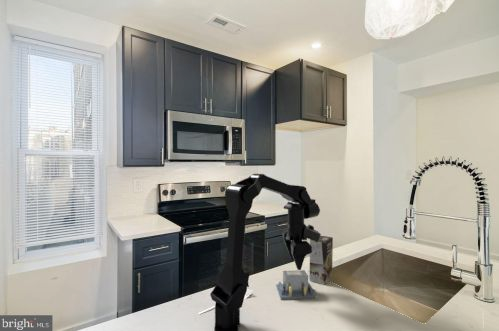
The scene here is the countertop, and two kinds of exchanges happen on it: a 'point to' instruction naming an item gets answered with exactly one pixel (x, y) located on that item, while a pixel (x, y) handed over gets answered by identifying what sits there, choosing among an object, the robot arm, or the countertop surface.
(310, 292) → the tray
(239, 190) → the robot arm
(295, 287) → the block
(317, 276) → the coffee box
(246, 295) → the fork
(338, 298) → the countertop surface
